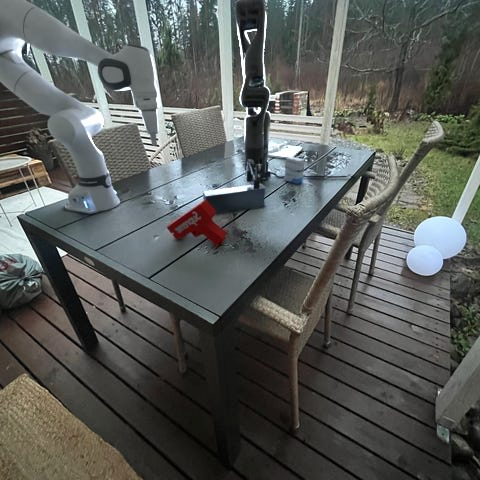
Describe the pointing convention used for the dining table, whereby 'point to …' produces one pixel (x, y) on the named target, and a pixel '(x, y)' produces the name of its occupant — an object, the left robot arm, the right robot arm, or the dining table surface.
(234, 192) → the bar
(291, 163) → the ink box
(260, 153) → the right robot arm
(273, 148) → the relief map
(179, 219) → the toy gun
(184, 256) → the dining table surface
